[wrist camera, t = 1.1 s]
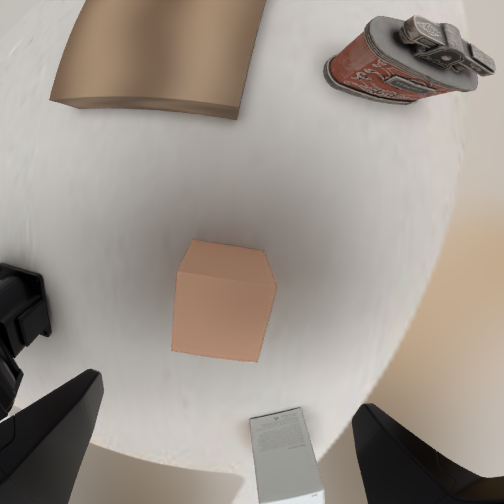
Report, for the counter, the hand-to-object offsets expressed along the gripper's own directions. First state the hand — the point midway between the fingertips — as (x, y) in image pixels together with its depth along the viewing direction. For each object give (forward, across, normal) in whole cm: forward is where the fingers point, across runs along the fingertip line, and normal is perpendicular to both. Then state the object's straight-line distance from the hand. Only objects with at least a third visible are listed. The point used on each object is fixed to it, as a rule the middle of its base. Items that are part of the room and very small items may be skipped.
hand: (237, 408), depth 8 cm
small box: (+13, -9, +19) cm, 24 cm away
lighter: (+13, -7, -16) cm, 22 cm away
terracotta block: (+13, +1, +1) cm, 13 cm away
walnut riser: (+12, +8, -16) cm, 22 cm away
